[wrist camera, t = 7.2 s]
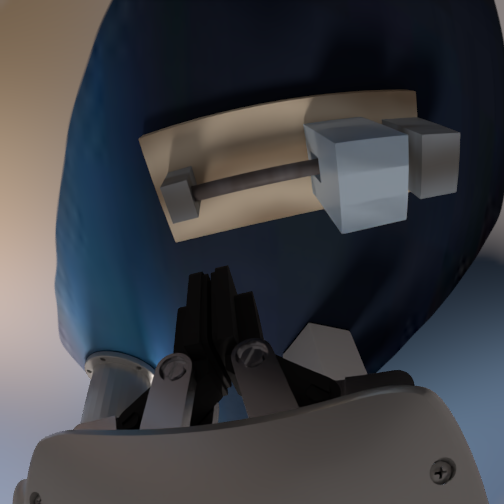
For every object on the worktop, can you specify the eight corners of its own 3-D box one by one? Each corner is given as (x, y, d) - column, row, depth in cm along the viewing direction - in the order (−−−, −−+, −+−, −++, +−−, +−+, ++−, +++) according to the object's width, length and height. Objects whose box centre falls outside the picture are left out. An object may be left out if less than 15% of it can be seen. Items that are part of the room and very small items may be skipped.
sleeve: (365, 182, 24) (406, 219, 18) (312, 192, 24) (341, 234, 18) (360, 116, 20) (408, 134, 15) (303, 124, 21) (334, 143, 15)
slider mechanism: (409, 184, 26) (452, 218, 20) (177, 234, 27) (166, 284, 21) (406, 89, 21) (459, 101, 15) (143, 135, 22) (112, 158, 15)
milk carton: (307, 321, 36) (348, 462, 20) (349, 329, 38) (396, 452, 22) (282, 353, 39) (307, 481, 23) (322, 359, 41) (354, 473, 25)
